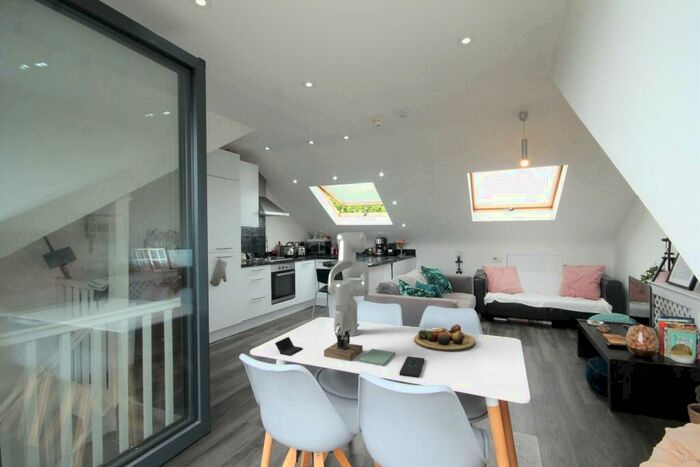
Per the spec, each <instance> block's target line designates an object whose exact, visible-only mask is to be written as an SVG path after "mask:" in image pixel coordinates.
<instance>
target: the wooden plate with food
mask: <svg viewBox="0 0 700 467" xmlns="http://www.w3.org/2000/svg"><path fill="white" fill-rule="evenodd" d="M461 330H462V327H461V325H460V324H458V323H457V324H455V325H452V327H450V329H447V328H445V327H439V328H437V329H433V330H427V328H425V329H421V330H419V331H418V333H417V334H415V336H414V338H413V341H414V343H415V344H416V346H417V345H418V346H420V347H421V348H422V349H423V348H424V349H426V350H430V351H435V352H436V351H437V352H442V353H443V352H447V353H454V352H463V351H467V350H471V349H472V348H474V347H475V346H476V339H475V338H474V337H473V336H471V335H469V334H467V333H464V332H462V331H461Z"/></svg>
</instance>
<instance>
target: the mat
mask: <svg viewBox="0 0 700 467" xmlns="http://www.w3.org/2000/svg"><path fill="white" fill-rule="evenodd" d="M395 355H396V352H395V351H391V350H390V351H389V350H383V349H382V350H381V349H375V348H371V349H370V350H369V351H368V352H366V353H365V354H364V355H363V356H361V357H360V358H359V359H358V362H359V363H364V364H371V365H375V366H376V365H377V366H380V367H384V366H385V365H386V364H387V363H388V362H389V361H391V359H392V358H393V357H394V356H395Z"/></svg>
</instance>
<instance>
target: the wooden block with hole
mask: <svg viewBox="0 0 700 467" xmlns="http://www.w3.org/2000/svg"><path fill="white" fill-rule="evenodd" d="M363 350H364V349H363V345H361V344H356V343H355V344H354V343H349V344H348V349H347V350H342V349H340V347H338V346H337V342H336V343H334V344H332V345H330V346H329V347H327V348H325V349H324V350H323V357H326V358H332V359H335V360H336V359H337V360H341V361H349V362H351V361H353V359H355V358H356V357H357V356H359V355H360V354H361V353H363Z"/></svg>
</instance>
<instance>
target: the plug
mask: <svg viewBox="0 0 700 467" xmlns="http://www.w3.org/2000/svg"><path fill="white" fill-rule="evenodd" d="M343 339H344V347H343V348H342V347H340V349H342V350H347V349H348V335H346V334H343Z"/></svg>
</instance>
